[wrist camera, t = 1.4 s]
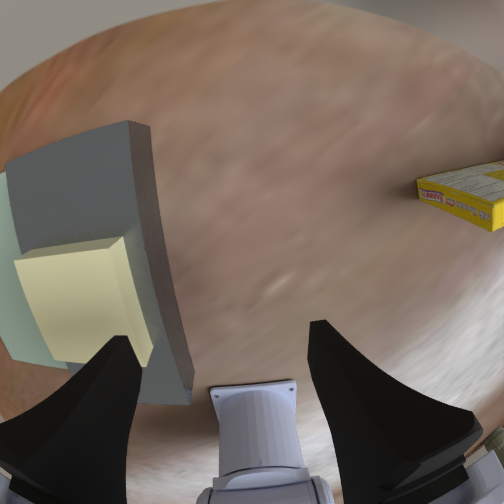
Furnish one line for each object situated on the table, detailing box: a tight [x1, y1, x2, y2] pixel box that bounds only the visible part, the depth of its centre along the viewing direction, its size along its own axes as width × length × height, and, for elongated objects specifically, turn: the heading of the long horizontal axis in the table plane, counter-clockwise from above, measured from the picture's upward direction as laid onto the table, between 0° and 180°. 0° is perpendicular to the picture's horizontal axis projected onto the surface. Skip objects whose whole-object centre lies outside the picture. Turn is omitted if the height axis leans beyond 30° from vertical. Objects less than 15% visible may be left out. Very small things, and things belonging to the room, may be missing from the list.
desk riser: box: [5, 120, 195, 405], centre depth 17 cm, size 20×10×4 cm, turn 4°
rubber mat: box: [0, 171, 68, 369], centre depth 18 cm, size 20×13×1 cm, turn 4°
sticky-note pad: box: [14, 236, 153, 367], centre depth 14 cm, size 8×8×2 cm
